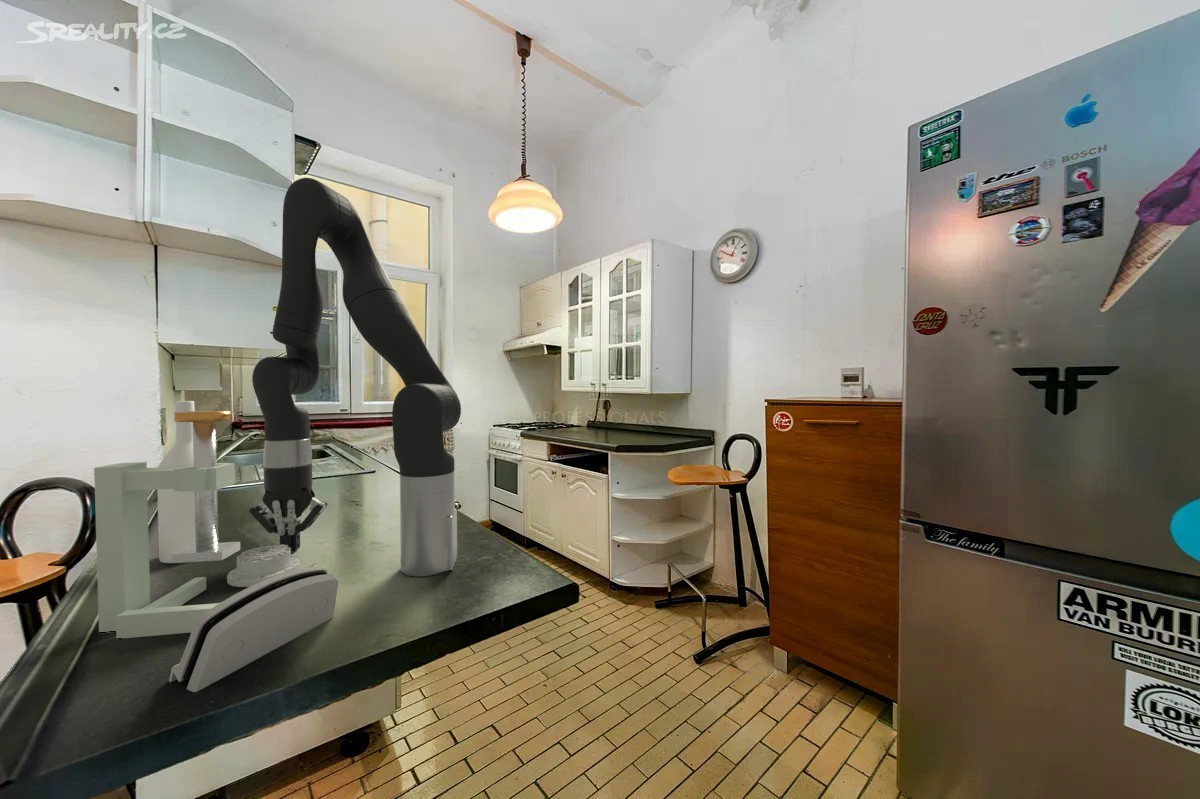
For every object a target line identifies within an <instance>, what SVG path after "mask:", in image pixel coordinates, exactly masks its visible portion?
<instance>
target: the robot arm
mask: <svg viewBox="0 0 1200 799" xmlns="http://www.w3.org/2000/svg"><path fill="white" fill-rule="evenodd" d="M282 205H283V206H282V237H281V238H282V239H281V242H282V243H281V246H282V247H281V283H280V290H279V298H278V302H277V307H276V312H275V316H274V321H273V327H272V337H273V339H274V340H275V341H276V342H278V343H280V344H283V345H284V346H285V351H286V357H282V356H267V357H264V358H262V359H260V360H259V361H258V362H257V363H256V364H255V367H254V368H253V371H252V377H251V378H252V379H251V380H252V381H251V382H252V387H253V391H254V393H255V396H256V399H257V402H258V405H259V408H260V411H261V413H262V415H263V419H264V420H263V421H264V446H263V451H262V452H263V454H262V456H263V458H262V463H263V489H264V494H263V496H262V498H261V499H262V501H260V502H259V503H258V504H256V505H254V506H252V507H250V508H249V509H248V510H249V514H250V515H251V516H252V517H253V518H254V519H255V520H256V521H257V522H258V523H259V524H260V525H261V526H262V527H263V528H264V529H265V531H266V532H268V534H272V533H275V534H277V535H278V536H279V544H280V545H283V544H284V545H288V547H290V548H291V555H293V554H295V553H297V551H298V550H299V549H300V547H301V532H304V531H305V530H308V529H309V528H311V526H312V525H313V524H314V523H315V521H316V520H317V519H318V518H319V516H320V515H321V514H322V513H323V512H324V510H325V509H326V508H327V507H328V502H327V501H320V500H319V499H318V498H316V494H315V492H314V490H313V450H312V449H313V448H312V444H311V443H312V442H311V423H310V420H311V419H310V412H309V411H308V410H307V409H305V408H303V407H298V406H296V404H295V402H294V400H293V396H294V395H296V396H297V395H299V396H300V395H305V394H308V393H309V392H311V391H312V390H313V389H314V387H316V385H317V383H318V381H319V376H320V358H319V357H320V356H319V348H318V338H319V332H320V328H321V323H322V318H323V313H324V298H323V297H324V296H323V292H322V287H321V284H320V278H319V275H318V270H317V259H316V253H317V252H316V250H317V245H318V239H322V240H323V241H324V242H325V243H326V245H328V248H330V249H331V251H332V253H333V255H334V256H335V258H336V260H337V261H338V264H339V265H340V267H341V270H342V275H343V277H342V278H343V279H342V299H343V303H344V306H345V308H346V310H347V312H348V314H349V316H350V318H351V320H352V322H353V323H354V325H355V327H356V329H357V331H358V332H359V334H360V335H361V337H362V338H363V339H364V341H366V342H367V343H368V345H369V346H370V347H372V349H373V350H375V352H377V353H378V355H380V356H381V357H382V358H383V359H384V360H385V361H386V362H387V363H388V364H389V365H390V366H391V367H392V368H393V369H394V370H395V371H396V373H397V374H398V376H399V377H400V378H401V381H402V382H403V384H404V387H403V388H401V389H400V390H399V391H398V392H397V394H396V396H395V398H394V401H393V404H392V410H391V411H392V412H391V414H392V415H391V419H392V421H391V424H392V436H393V451H394V456H395V459H396V461H397V463H398V468H399V512H400V515H399V519H400V520H399V523H400V525H399V526H400V527H399V528H400V529H399V530H400V531H399V532H400V571H401V573H402V574H403V575H406V576H410V577H429V576H434V575H438V573H439V574H442V573H444V571H445V572H448V571H449V570H452V571H454V568H453V567H455V566H456V563H455V562H457V560H458V510H457V508H456V507H455V506H456V503H455V500H456V499H455V498H456V496H455V494H456V492H455V491H456V490H455V489H456V488H455V484H456V483H455V476H456V475H455V458H454V455H453V454H451V453H450V452H448V451H447V450H446V448H445V445H444V444H445V443H444V434H443V433H444V432H447V431H450V430H452V429H453V428H454V427H456V426H457V424H458V423H459V421H460V419H461V414H462V405H461V401H460V399H459V396H458V394H457V392H456V391H455V389H454V388H453V386H452V385H451V384H450V382H449V381H448V379H447V378H446V376H445V375H444V373H443V372H442V371H441V369H440V367H439V366H438V364H437V363H436V361H435V360H434V358H433V357H432V355H431V353H430V351H429V350H428V348H427V346H426V344H425V342H424V340H423V338H422V336H421V334H420V333H419V330H418V329H417V327H416V325H415V324H414V322H413V320H412V318H411V316H410V314H409V311H408V309H407V307H406V306H405V303H404V302H403V300H402V298H401V296H400V295H399V293H398V291H397V289H396V287H395V285H394V284H393V282H392V280H391V279H390V276H389V275H388V274H387V272H386V270H385V267H384V266H383V264H382V263H381V261H380V259H379V257H378V256H377V254H376V251H375V249H374V247H373V245H372V243H371V240H370V238H369V235H368V233H367V231H366V227H365V224H364V223H363V220H362V218H361V216H360V213H359V212H358V210H357V208H356V207H355V205H354V204H353V203H352V201H350V200H349V199H348V198H347V197H345V196H344V195H342V194H340V193H339V192H338V191H335V189H333V188H331V187H329V186H328V185H326V184H324V183H323V182H321V181H319V180H317V179H315V178H311V177H301V178H298V179H297V180H295V181H293V182H292V183H291V184H290V185H289V187H288V188H287V190H286V193H285V196H284V200H283V204H282ZM308 508H309V511H310V512H309V513H308V515H307V516H306V517H305V518H304V513H305V511H306V510H307V509H308ZM303 519H304V520H303ZM456 559H457V560H456ZM441 572H442V573H441ZM449 572H450V571H449Z"/></svg>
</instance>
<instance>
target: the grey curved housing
mask: <svg viewBox="0 0 1200 799" xmlns="http://www.w3.org/2000/svg"><path fill="white" fill-rule="evenodd" d="M338 587H339V580H338V578H336V576H335V575H334V574H332V573H328V570H326V569H324V568H321V567H320V566H313V567H312V566H311V567H305V568H299V569H298V570H293V571H290V572H286V573H283V574H280V575H277V576H274V577H271V578H269V579H266V580H264V581H261V582H259V583H257V584H255V585H253V586H249V587H246V588H245V589H242V590H241V591H238V592H237V593H235V594H233V595H231V596H230V597H228V598H226V599H224V600H223V601H221V602H219V603H220V604H218V605H216V606H215V607H213V608H212V609H210V610H208V611H207V612H205V613H204V614H202V615H201V616H200V617H199V618H198V619H197V621H196V622H195V625H194V627H193V630H192V632H191V633H190V636H189V638H188V640H187V644H186V646H185V649H184V651H183V653H182V657H181V658H180V660H179V663H177V664H175V665H173V666H172V667H171V671H170V675H169V679H168V681H169V683H172V682H174V681H176V680H177V681H178V683H181V682H183V681H188V682H187V683H188V684H187V687H186V690H188V691H190V692H192V693H197V692H199V691H201V690H203V689H205V688H207V687H208V686H210V685H212V684H214V683H216V682H217V681H219V680H221V679H223V678H225V677H227V676H228V675H230V674H232V673H234V672H236V671H238V670H240V669H242V668H243V667H244V666H247V665H248V664H251V663H252V662H254V661H256V660H258V659H259V658H261V657H263V656H265V655H267V654H269V653H271V652H272V651H274V650H276V649H278V648H280V647H281V646H284V645H285V644H287V643H289V642H290V641H293V640H294V639H296V638H298V637H300V636H301V635H303V634H305V633H307V632H309V631H311V630H313V629H314V628H316V627H318V626H320V625H322V624H324V623H325V622H328V621H330V620H331V619H333V618H334V614H335V608H336V601H337V596H338Z"/></svg>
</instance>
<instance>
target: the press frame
mask: <svg viewBox="0 0 1200 799" xmlns="http://www.w3.org/2000/svg"><path fill="white" fill-rule="evenodd" d="M93 472H94V476H93V477H94V503H95V504H94V505H95V506H94V508H95V511H94V512H95V534H96V535H95V537H96V538H95V540H96V568H97V569H96V573H97V575H96V576H97V577H96V578H97V605H98V606H97V607H98V608H97V610H98V612H97V613H98V633H99V632H107V631H116V633H115V634H116V639H117V638H122V639H130V638H141V637H153V636H155V637H157V636H164V635H166V636H167V635H176V634H178V635H179V634H188V633H190V634H191V632H192V630H193V627H194V625H195V622H196V621H197V619H198V618H199V617H200V616H201V615H202V614H204V613H205V612H207V611H208V610H210V609H212V608H213V607H215V606H216V605H218V604H220V603H221V602H216V603H215V602H214V603H204V604H191V605H190V604H189V605H184V604H186V603H187V602H189V601H190V600H192V599H193V598H195V597H196V596H198V595H199V594H201V593H203V592H204V591H206V590H207V576H201V577H199V576H198V577H194V578H192V579H191V580H188V581H187V582H185V583H184V584H182V585H181V586H179V587H177V588H175V589H174V590H172V591H170V592H168V593H167V594H165V595H163V596H161V597H160V598H158V599H156V600H154V601H153V602H151V581H150V580H151V579H150V545H149V544H150V542H149V540H150V539H149V537H150V536H149V509H148V508H149V503H148V491H149V490H150V491H152V490H153V491H154V490H156V491H157V490H158V489H174V491H180V492H194V491H207V490H217V491H218V490H221V489H224V488H227V487H230V486H232V485H233V486H234V485H235V484H236V464H235V463H233V462H232V463H231V462H230V463H229V462H217V466H215V467H211V468H194V465H190V466H186V467H163V468H158V467H147V461H141V462H140V461H139V462H135V461H134V462H118V463H113V464H107V465H102V466H97V467H94V468H93ZM107 633H108V632H107Z"/></svg>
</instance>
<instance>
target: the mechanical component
mask: <svg viewBox="0 0 1200 799" xmlns="http://www.w3.org/2000/svg"><path fill="white" fill-rule="evenodd" d="M298 569H300V560H299V559H298V558H295V557H292V554H291V548H290V547H288V545H284V544H283V545H280V543H279V544H271V545H264V546H259V547H253V548H251V549H247V550H245V551H242V552H241V554H240V555H236V567H235V568H233V569H232V570H230V571H229V572H228V574H227V576H226V581H227V584H228V585H229V586H231V587H236V588H237V587H238V588H249V587H251V586H253V585H255V584H257V583H259V582H261V581H264V580H266V579H269V578H271V577H274V576H277V575H280V574H283V573H286V572H290V571H293V570H298Z"/></svg>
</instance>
